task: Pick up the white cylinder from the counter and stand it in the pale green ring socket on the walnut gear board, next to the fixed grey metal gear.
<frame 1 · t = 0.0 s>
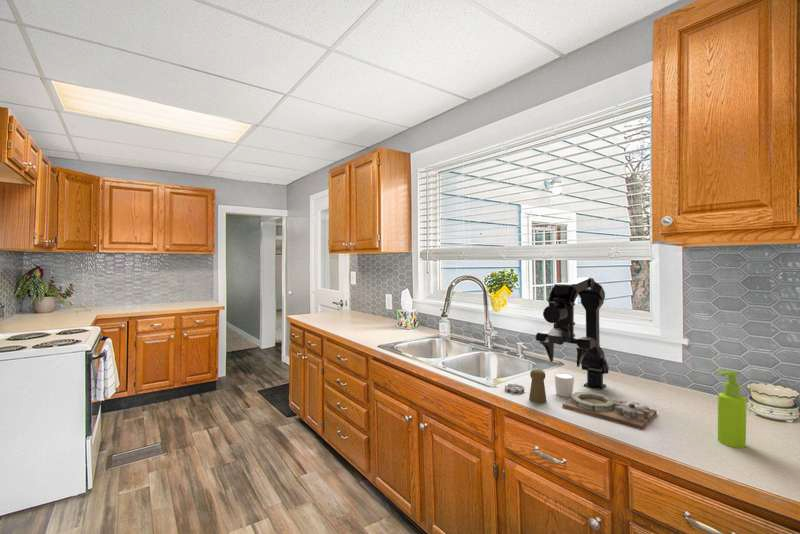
hand: (564, 364, 131), 15 cm above the counter, tool pointing down, fingers open, 9 cm apart
brown pepper mill: (537, 400, 137), on the counter
gear board: (608, 410, 127), on the counter
white cylinder: (564, 394, 143), on the counter
soap dispenser: (729, 443, 105), on the counter
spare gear: (514, 390, 147), on the counter
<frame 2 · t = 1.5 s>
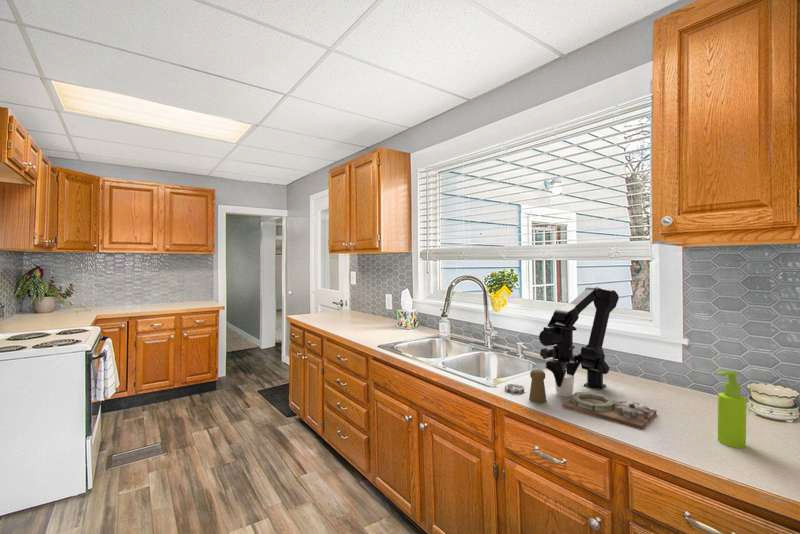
hand: (564, 383, 143), 4 cm above the counter, tool pointing down, fingers open, 9 cm apart
nothing on the counter moved.
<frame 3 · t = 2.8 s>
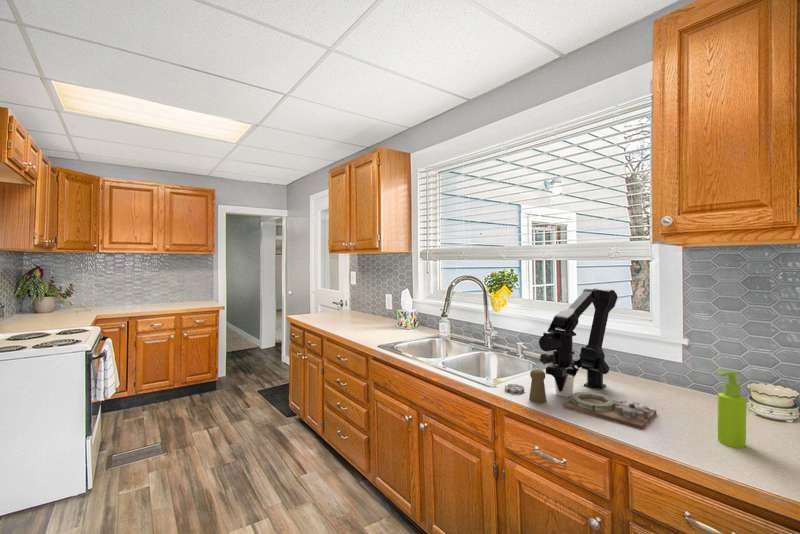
hand: (564, 389, 143), 2 cm above the counter, tool pointing down, fingers closed on white cylinder, 6 cm apart
white cylinder: (564, 394, 143), on the counter, touching gripper
everything else where it was.
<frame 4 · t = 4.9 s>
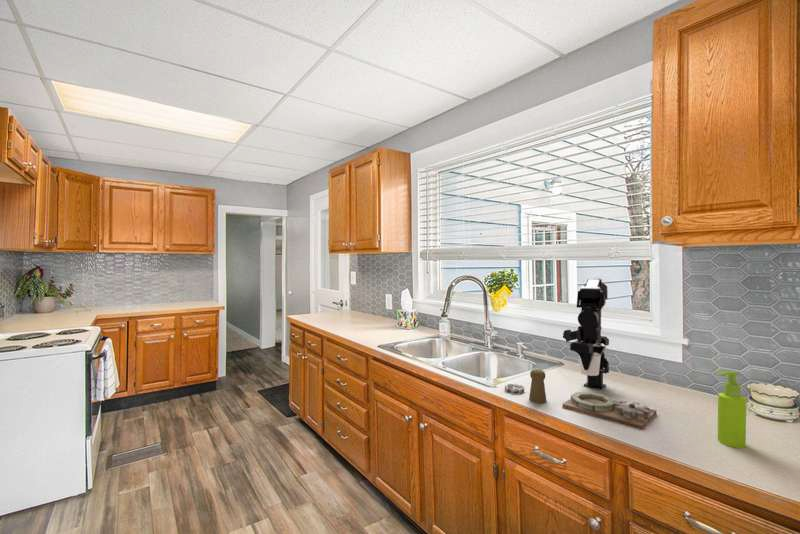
hand: (589, 368, 132), 13 cm above the counter, tool pointing down, fingers closed on white cylinder, 6 cm apart
white cylinder: (589, 373, 132), point 11 cm above the counter, touching gripper
everything else where it was.
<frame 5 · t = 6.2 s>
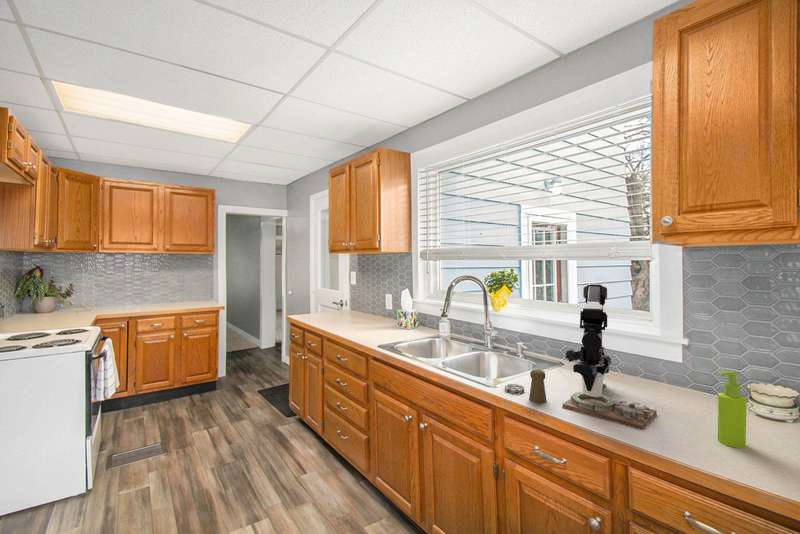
hand: (592, 388, 131), 6 cm above the counter, tool pointing down, fingers closed on white cylinder, 6 cm apart
white cylinder: (592, 394, 131), point 4 cm above the counter, touching gripper
everything else where it was.
when the fingers open (5 cm above the counter, at t = 7.3 s): white cylinder drops 2 cm, resting on gear board.
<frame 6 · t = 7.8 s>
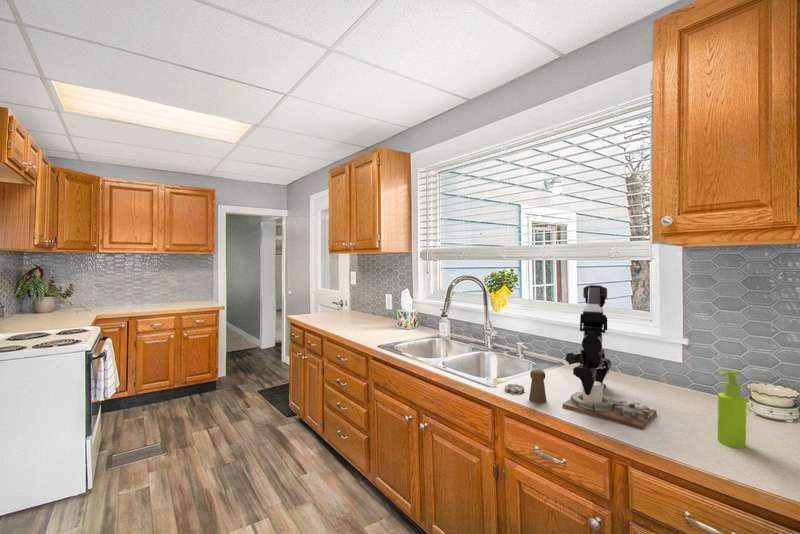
hand: (592, 391, 131), 5 cm above the counter, tool pointing down, fingers open, 9 cm apart
white cylinder: (592, 403, 131), point 1 cm above the counter, touching gear board
everything else where it was.
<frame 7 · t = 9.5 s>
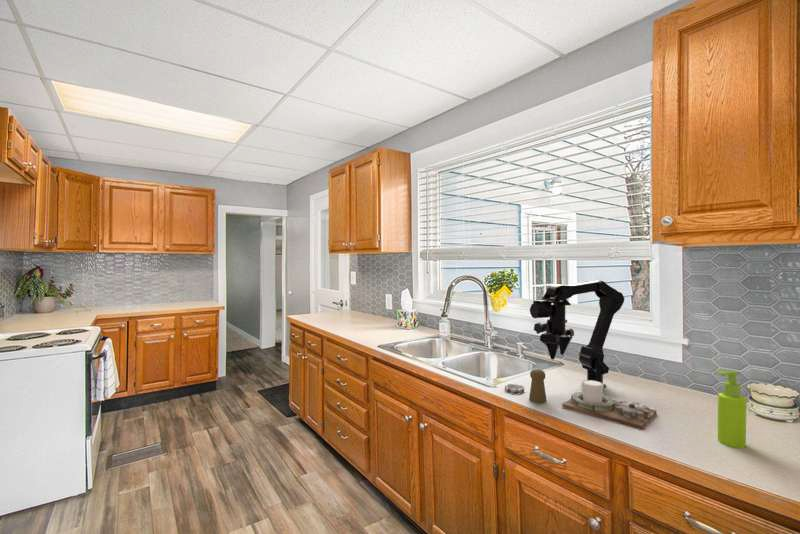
hand: (557, 356, 147), 13 cm above the counter, tool pointing down, fingers open, 9 cm apart
nothing on the counter moved.
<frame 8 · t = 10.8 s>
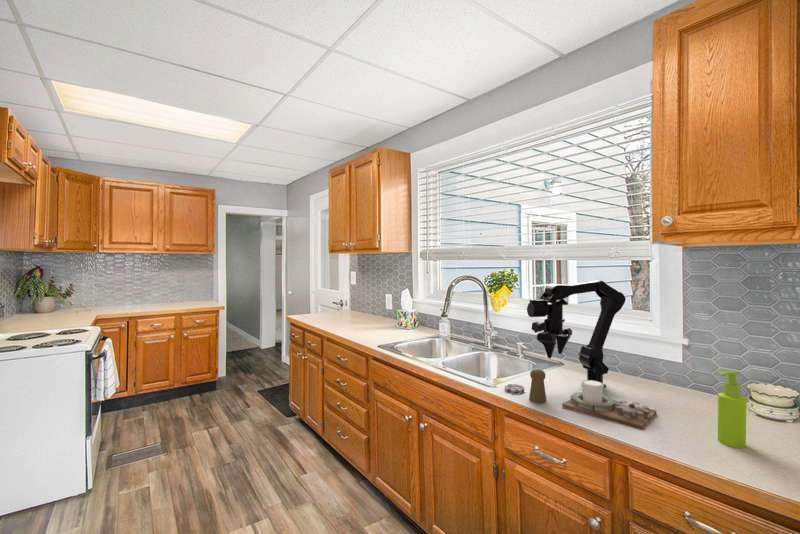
hand: (554, 355, 149), 13 cm above the counter, tool pointing down, fingers open, 9 cm apart
nothing on the counter moved.
at the end: white cylinder 0.1 cm from the target spot on the gear board, point 1.0 cm above the gear board's base; white cylinder tilted 0°; the gripper is holding nothing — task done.
